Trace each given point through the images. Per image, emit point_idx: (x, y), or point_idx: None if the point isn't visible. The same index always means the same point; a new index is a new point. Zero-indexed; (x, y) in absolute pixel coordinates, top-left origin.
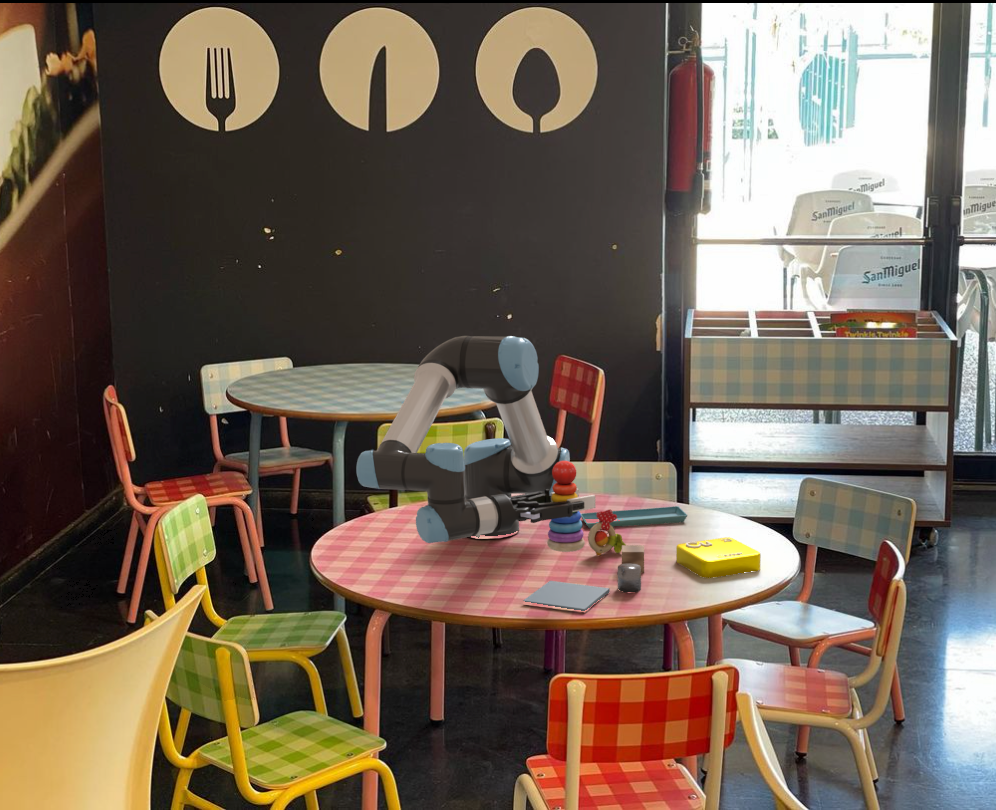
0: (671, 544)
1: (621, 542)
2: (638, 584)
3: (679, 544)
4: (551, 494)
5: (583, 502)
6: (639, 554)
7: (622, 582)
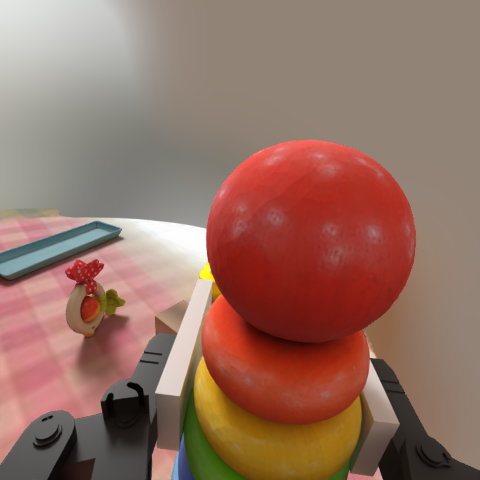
0: (152, 269)
1: (117, 299)
2: None
3: (203, 275)
4: (164, 401)
5: (385, 365)
6: None
7: None
